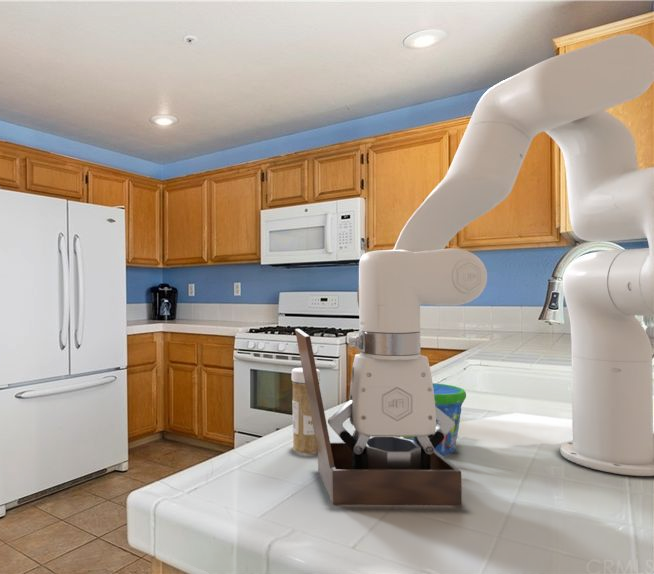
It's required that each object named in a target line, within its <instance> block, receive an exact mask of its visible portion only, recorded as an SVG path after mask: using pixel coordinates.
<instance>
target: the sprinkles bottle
mask: <svg viewBox="0 0 654 574" xmlns="http://www.w3.org/2000/svg"><path fill="white" fill-rule="evenodd" d="M316 370H317V376H318V381H319V382H320V381H321V371H320V369H319V368H316ZM291 381H292V405H291V406H292V433H293V435H292V439H293V440H292V441H293V445H292V446H293V447H292V450H293V451H294V452H296V453H299V454H309V455H311V454H318V443H317V441H316V438H315V433H314V428H313V423H312V417H311V412H310V407H309V401H308V396H307V391H306V385H305V380H304V375H303V369H302V367H296V368H293V369H291Z"/></svg>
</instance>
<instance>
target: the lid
mask: <svg viewBox="0 0 654 574" xmlns="http://www.w3.org/2000/svg"><path fill="white" fill-rule="evenodd" d="M294 330H295V337H296V342H297V347H298V353H299V358H300V363H301V368H302V369H303V375H304V380H305V385H306V391H307V396H308V401H309V407H310V412H311V417H312V423H313V428H314V433H315V438H316V441H317V443H318V445H319V447H320V449H321V451H322V453H323V455H324V457H325V459H326V461H327V463H328V465H329V467H330V468H334V467H335V466H334V461H333V455H332V450H331V445H330V442H331V440H330V435H329V434H330V433H329V430H328V429H329V428H328V424H327V423H328V422H327V419H326V413H325V407H324V403H323V398H322V397H323V396H322V392H321V387H320V381H318V376H317V370H316V369H317V365H316V360H315V353H314V350H313V345H312V339H311V336H310V335H309V334H308V333H306V332H304V331H303V330H302V329H300V328H295V329H294Z"/></svg>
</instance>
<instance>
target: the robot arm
mask: <svg viewBox="0 0 654 574" xmlns="http://www.w3.org/2000/svg"><path fill="white" fill-rule="evenodd" d="M653 83H654V45H653V44H652V43H651V42H650V41H649V40H648V39H646V38H645V37H643V36H641V35H638V34H632V33H622V34H618V35H614V36H611V37H608V38H606V39H602V40H600V41H596V42H594V43H591V44H587V45H585V46H582V47H579V48H577V49H573V50H570V51H567V52H563V53H561V54H558V55H555V56H552V57H550V58H547V59H545V60H542V61H540V62H537V63H536V64H533V65H532V66H530V67H528V68H526V69H524V70H522V71H520V72H518V73H516V74H514V75H512V76H509V77H508V78H506V79H505V80H502V81H500V82H498V83H497V84H495V85H493V86H492V87H490V88H489V89H487V91H485V92H484V94H483V95H482V96H481V97H480V98H479V100H478V102H477V104H476V105H475V108H474V110H473V112H472V115H471V116H470V119H469V122H468V124H467V126H466V128H465V131H464V133H463V136H462V138H461V140H460V142H459V144H458V147H457V150H456V152H455V154H454V156H453V159H452V160H451V161H452V162H451V164H450V166H449V168H448V169H447V172H446V174H445V175H444V178H443V179H442V180H441V181H440V182H439V183H438V184H437V185H436V186H435V187H434V188H433V190H432V191H431V192H430V193H429V194H428V195H427V197H426V198H425V199H424V201H423V202H422V203H421V204H420V205H419V207H417V209H416V210H415V211H414V212H413V214H412V215H411V216H410V218H409V219H408V220H407V222H406V223H405V225H404V226H403V228H402V230H401V231H400V233H399V235H398V238H397V240H396V242H395V244H394V247H393V249H382V250H381V249H380V250H371V251H367V252H365V253H364V254H362V255H361V256H360V259H359V261H358V285H359V306H358V312H359V313H358V314H359V315H358V317H359V320H358V321H359V323H358V324H359V330H358V331H357V334H356V335H354V336H348V347H349V348H351V347H353V348H356V349H358V352H359V353H357V354H355V355H354V359H353V362H352V369H351V375H350V387H349V397H348V399H349V400H348V402H347V403H345V404H344V405H343V406H342V407H341V408H339V409H338V410H337V411H336V412H335V413H334V414H332V415H331V416H330V417H329V418H328V419H327V423H328V424H327V425H329V427H330V428H331V429H332V431H334V433H335V434H337V436H338V437H339V438H340V439H341V440H342V442H345V443H346V444H347V445H348V446H349V447H350V448H351V449H352V469H367V455H366V454H365V452H364V448H365V446H366V444H367V442H368V440H369V438H370V437H400V438H403V437H414V439H415V441H416V443H417V444H418V445H419V446H420V447H421V470H431V468H430V455H431V454H433V453H434V449H435V448H436V447H437V446H438V445H439V444H440V443H441V442H442V441H443V440H444V436H445V435H447V434H448V433H449V431H450V430H451V429H452V428H453V427H454V425H455V423H454V421H453V420H451V419H450V418H449V417H448V416H447V415H445V414H444V413H443V412H442V411H441V410H439V409H438V408H437V407H436V406H435V399H434V390H433V383H434V382H433V376H432V369H431V366H430V363H429V362H430V361H429V358H428V356H426V355H423V354H421V305H425V306H426V305H429V306H430V305H431V306H439V307H440V306H441V307H457V306H462V305H465V304H468V303H471V302H472V301H474V300H475V299H477V298H478V297H479V296H480V295H481V294H482V293H483V292H484V290H485V288H486V286H487V282H488V271H487V268H486V266H485V264H484V262H483V261H482V260H481V258H480V257H478V256H477V255H476V254H474V253H473V252H471V251H469V250H466V249H462V248H451V247H450V248H449V247H448V248H446V247H447V245H448V244H449V243H450V242H451V240H452V239H453V238H454V237H455V236H456V235H457V234H458V233H459V232H460V231H462V230H463V229H464V228H465V227H467V226H468V225H470V224H471V223H472V222H474V221H476V220H477V219H480V217H482V216H484V215H486V214H487V213H489V212H490V211H492V210H493V209H495V207H497V206H499V205H500V204H501V203H502V202H503V201H505V200H506V199H507V198H508V197H509V196H510V194H511V192H512V191H513V188H514V186H515V183H516V180H517V179H518V176H519V174H520V170H521V168H522V165H523V163H524V160H525V159H526V156H527V153H528V151H529V149H530V146H531V144H532V141H533V139H534V138H535V137H536V136H538V134H541V133H545V134H547V135H548V136H549V138H551V139H552V140H553V141H554V143H555V144H556V145H557V146H558V147H559V149H560V151H561V154H562V156H563V160H564V161H563V162H564V168H565V179H566V191H567V204H568V215H569V223H570V227H571V229H572V231H573V233H574V234H575V236H576V237H578V238H579V239H580V240H583V241H586V242H593V243H596V242H597V243H599V242H600V243H601V242H618V241H627V240H638V239H647V245H648V247H643V248H623V249H612V250H602V251H594V252H590V253H585V254H583V255H580V256H579V257H576V258H575V259H573V260H572V261H571V262H570V263H568V265H567V266H566V267H565V270H564V272H563V275H562V279H561V280H562V282H561V283H562V284H561V285H562V293H563V297H564V300H565V305H566V308H567V312H568V319H569V325H570V326H569V327H570V344H571V345H570V346H571V351H570V352H571V417H572V418H571V420H572V421H571V422H572V424H571V425H572V427H571V429H572V430H571V431H572V441H568V442H563V443H562V444H561V445H560V455H561V456H562V457H564V458H565V459H566V460H568V461H570V462H572V463H574V464H577V465H579V466H582V467H585V468H589V469H593V470H596V471H601V472H606V473H609V474H610V473H611V474H616V475H617V474H618V475H623V476H635V477H654V402H653V401H654V397H653V389H654V388H653V347H652V343H651V340H650V337H649V335H648V333H647V332H646V330H645V328H644V327H643V325H642V323H640V321H639V319H638V318H637V316H638V317H639V316H640V317H641V316H642V317H654V166H651V167H645V168H642V169H639V163H638V156H637V148H636V147H637V146H636V142H635V141H636V140H635V138H634V135H633V133H632V132H631V130H630V128H629V127H628V126H626V124H624V123H623V122H622V121H621V120H620V119H618V117H615V116H614V115H613V114H611V113H609V112H608V111H607V110H609V109H612V108H614V107H617V106H619V105H622V104H625V103H627V102H631V101H633V100H635V99H637V98H639V97H641V96H642V95H643V94H645V93H646V92H647V91H648V90H649V88H650V87H651V86H652V84H653ZM348 419H349V422H350V424H351V425H352V426H353V427H354V431H353V433H352V434H351V433H350V432H349V431H348V430H347V429H346V428H345V427H344V426H343V424H344V423H345V422H346V421H347V420H348ZM436 420H437V422H438V424H437V425H436Z"/></svg>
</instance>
